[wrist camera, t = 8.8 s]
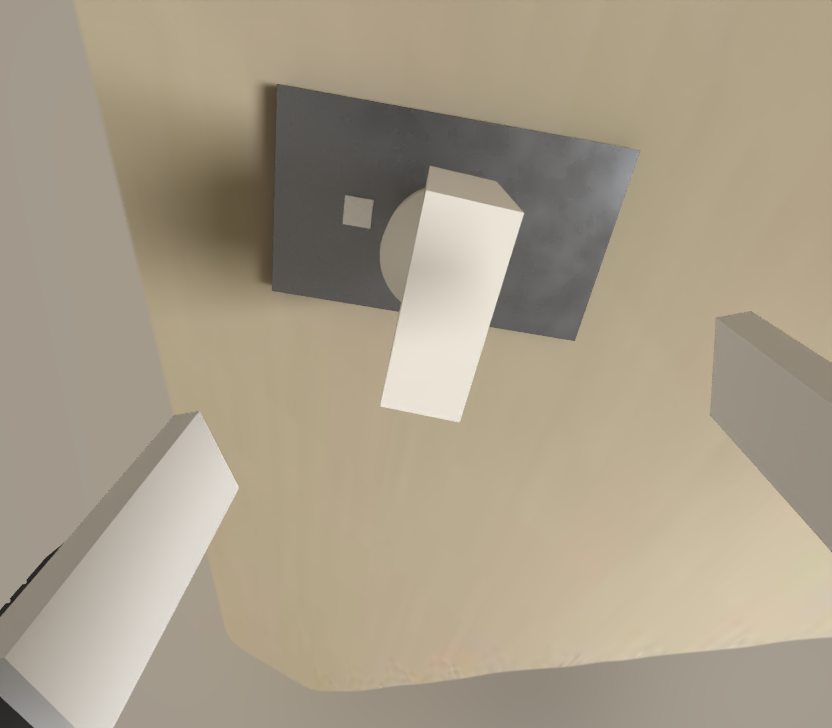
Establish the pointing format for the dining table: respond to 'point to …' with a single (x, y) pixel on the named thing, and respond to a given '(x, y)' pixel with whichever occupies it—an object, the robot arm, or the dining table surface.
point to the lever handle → (444, 287)
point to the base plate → (407, 173)
